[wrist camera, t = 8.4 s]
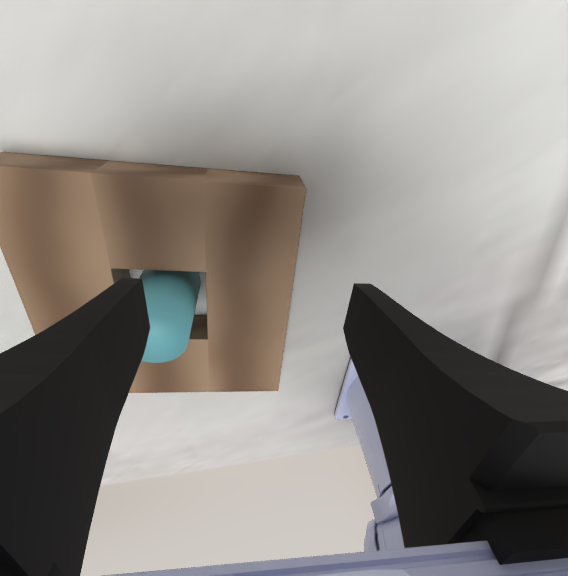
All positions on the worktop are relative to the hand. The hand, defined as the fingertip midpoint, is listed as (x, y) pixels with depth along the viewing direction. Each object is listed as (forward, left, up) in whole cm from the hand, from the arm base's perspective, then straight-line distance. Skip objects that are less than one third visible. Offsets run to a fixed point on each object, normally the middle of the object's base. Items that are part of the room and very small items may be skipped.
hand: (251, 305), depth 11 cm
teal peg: (+5, +5, -9) cm, 12 cm away
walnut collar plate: (+5, +5, -9) cm, 12 cm away
